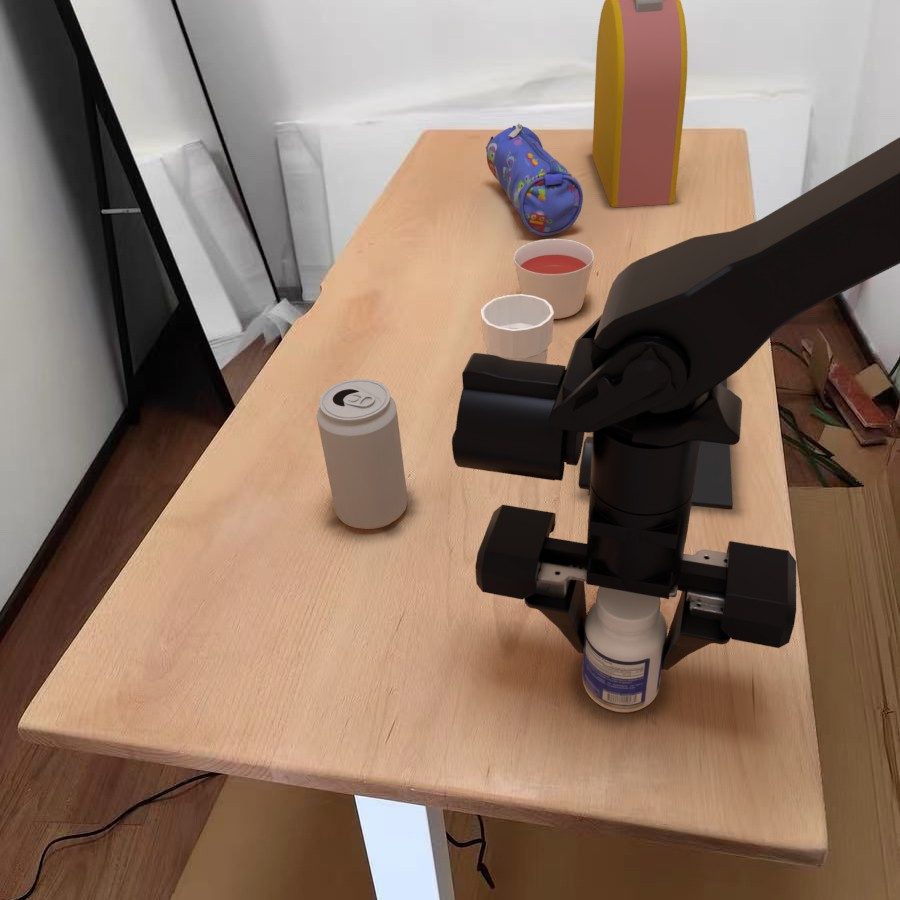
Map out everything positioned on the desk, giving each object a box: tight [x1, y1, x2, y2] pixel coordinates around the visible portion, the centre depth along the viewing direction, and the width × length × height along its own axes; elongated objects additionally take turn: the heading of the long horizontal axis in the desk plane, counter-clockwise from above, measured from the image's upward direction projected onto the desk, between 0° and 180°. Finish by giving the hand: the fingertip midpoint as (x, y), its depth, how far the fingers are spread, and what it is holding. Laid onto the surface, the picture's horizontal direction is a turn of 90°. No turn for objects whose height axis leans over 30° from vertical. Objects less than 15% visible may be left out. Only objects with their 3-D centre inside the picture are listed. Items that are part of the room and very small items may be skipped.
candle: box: [513, 238, 595, 320], centre depth 99 cm, size 9×9×6 cm
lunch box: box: [591, 0, 688, 208], centre depth 122 cm, size 21×9×26 cm, turn 0°
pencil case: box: [485, 122, 584, 237], centre depth 121 cm, size 22×9×10 cm, turn 11°
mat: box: [587, 378, 734, 510], centre depth 81 cm, size 20×12×1 cm, turn 167°
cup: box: [480, 293, 555, 364], centre depth 82 cm, size 7×7×11 cm
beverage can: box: [316, 378, 409, 530], centre depth 72 cm, size 6×6×12 cm
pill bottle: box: [582, 586, 668, 713], centre depth 57 cm, size 5×5×9 cm
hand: (623, 656), depth 58 cm, fingers closed on pill bottle, 5 cm apart
